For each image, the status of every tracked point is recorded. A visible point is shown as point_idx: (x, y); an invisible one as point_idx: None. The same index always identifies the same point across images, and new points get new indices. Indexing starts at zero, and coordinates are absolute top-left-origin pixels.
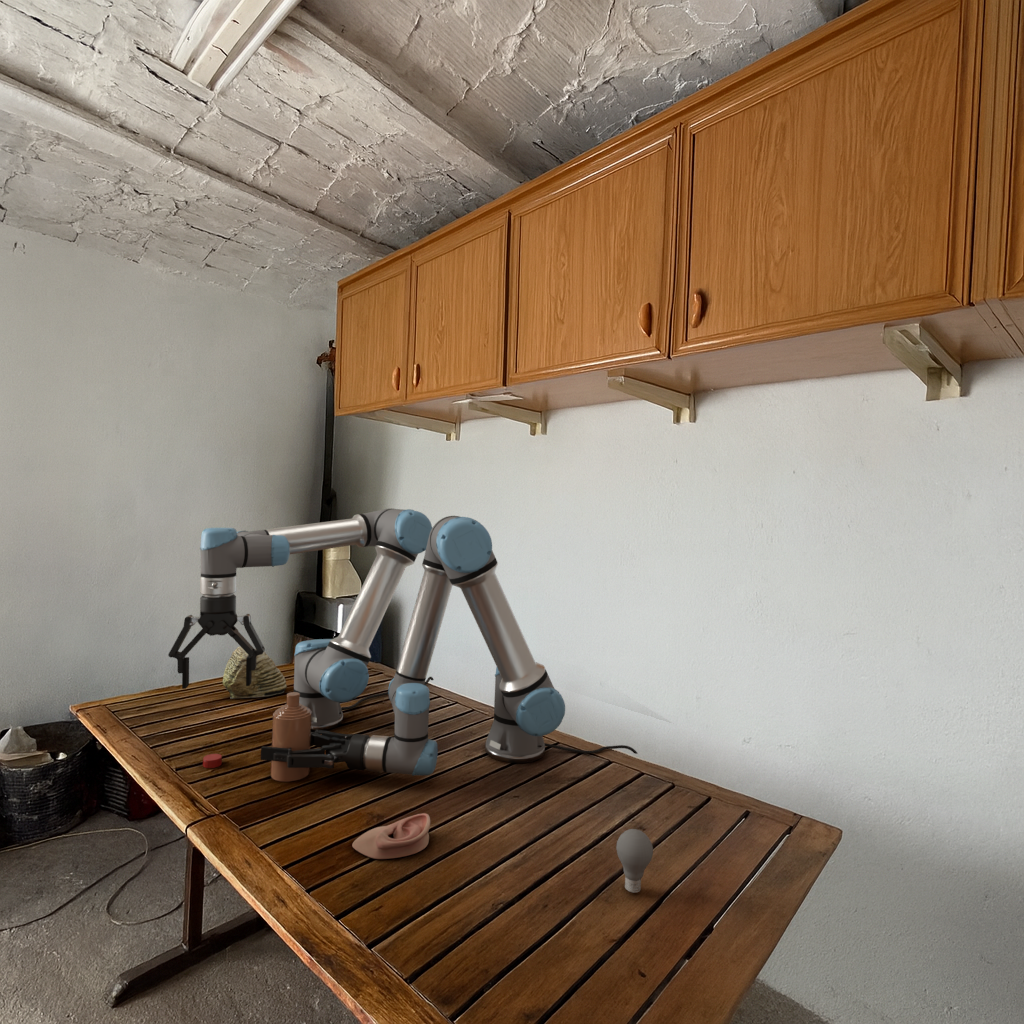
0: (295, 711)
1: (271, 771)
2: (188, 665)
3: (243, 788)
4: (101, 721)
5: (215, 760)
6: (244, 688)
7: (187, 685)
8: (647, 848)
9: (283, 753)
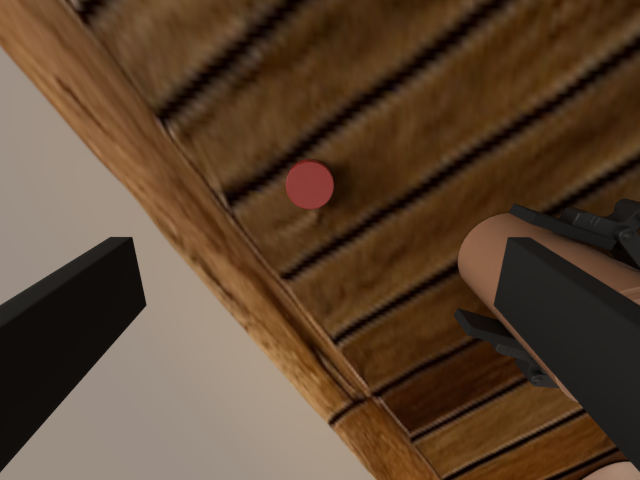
0: None
1: (464, 276)
2: (27, 333)
3: (402, 313)
4: None
5: (322, 205)
6: None
7: (135, 274)
8: None
9: (520, 351)
